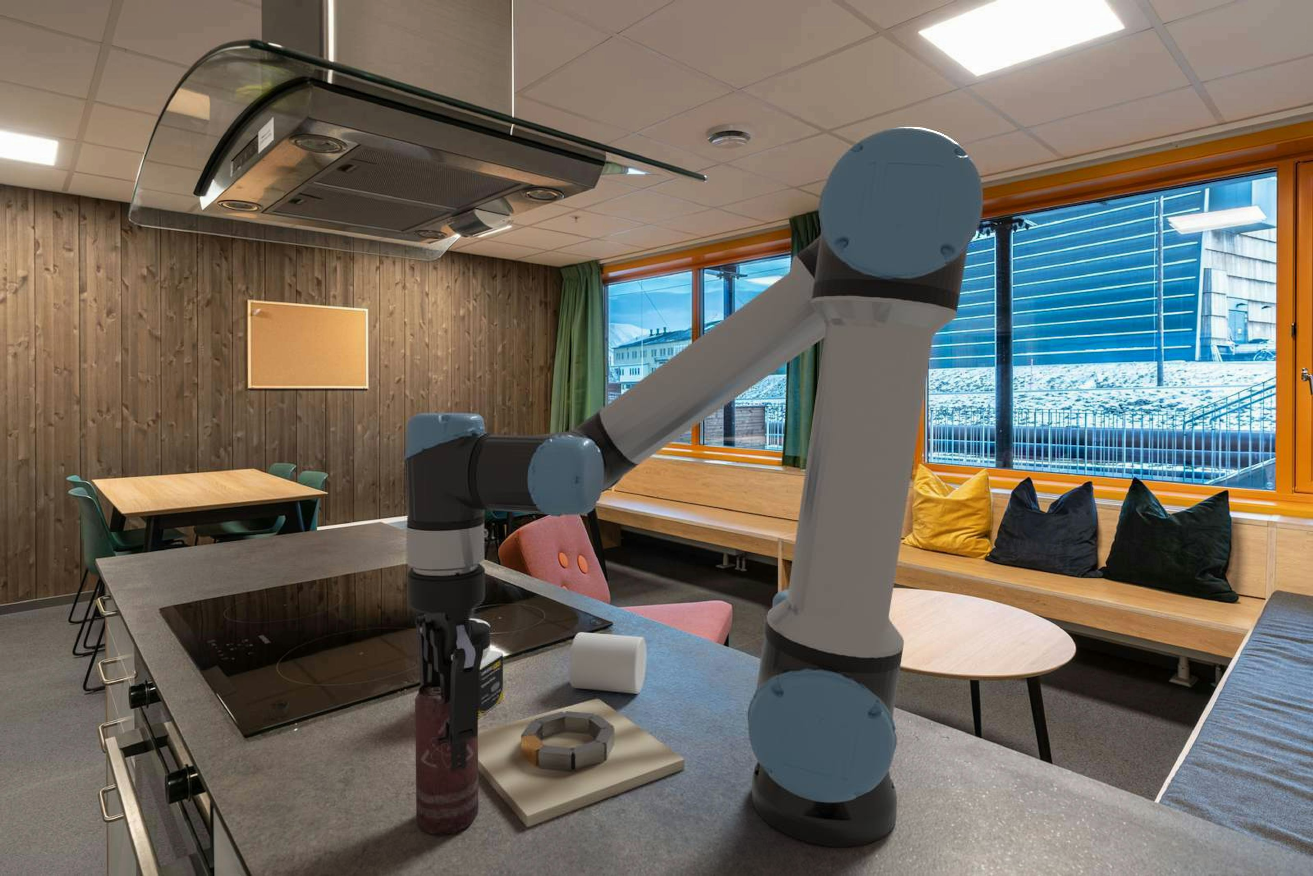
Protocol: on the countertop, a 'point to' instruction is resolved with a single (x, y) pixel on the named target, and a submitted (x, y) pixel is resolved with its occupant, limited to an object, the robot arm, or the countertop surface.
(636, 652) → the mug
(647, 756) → the hub board
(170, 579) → the countertop surface
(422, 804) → the can
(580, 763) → the socket
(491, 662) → the medicine bottle
